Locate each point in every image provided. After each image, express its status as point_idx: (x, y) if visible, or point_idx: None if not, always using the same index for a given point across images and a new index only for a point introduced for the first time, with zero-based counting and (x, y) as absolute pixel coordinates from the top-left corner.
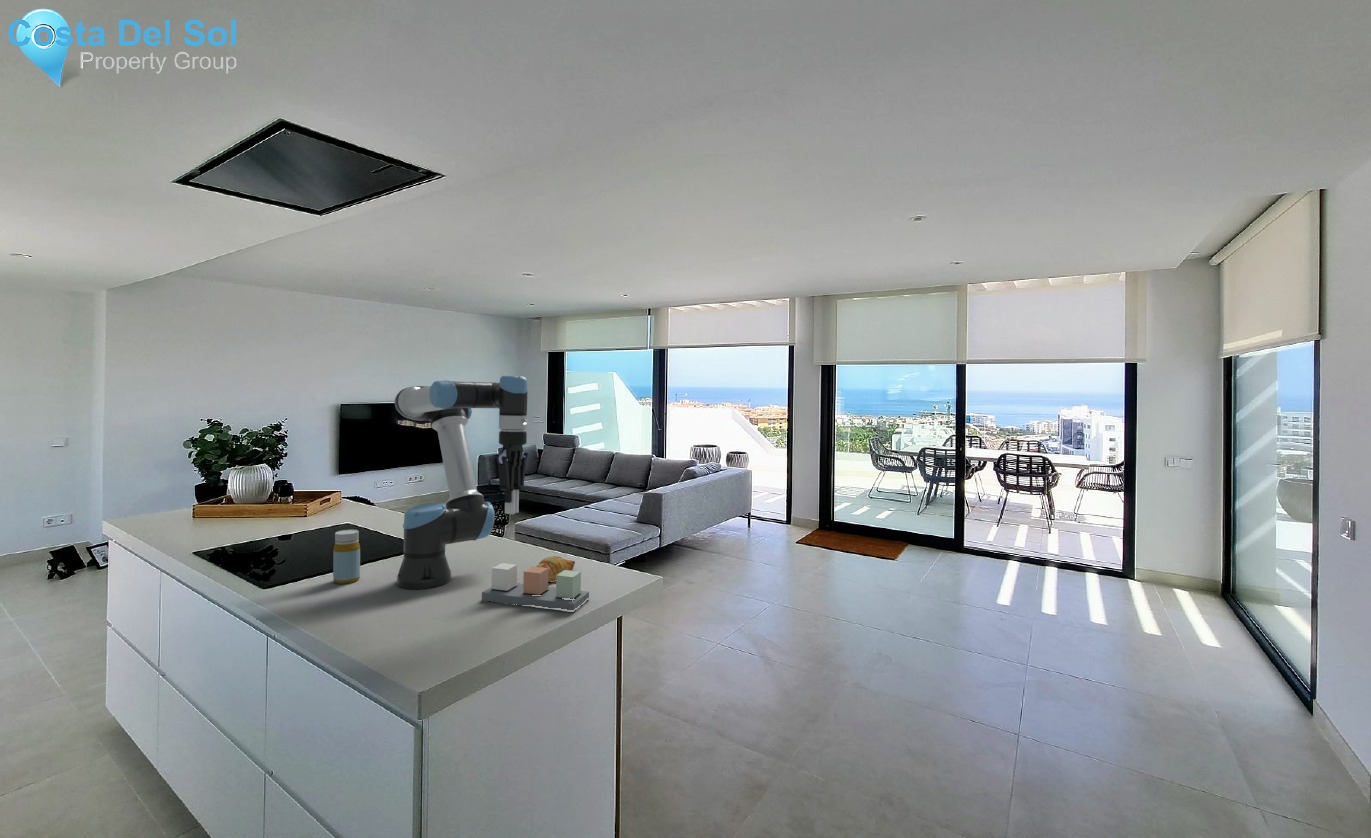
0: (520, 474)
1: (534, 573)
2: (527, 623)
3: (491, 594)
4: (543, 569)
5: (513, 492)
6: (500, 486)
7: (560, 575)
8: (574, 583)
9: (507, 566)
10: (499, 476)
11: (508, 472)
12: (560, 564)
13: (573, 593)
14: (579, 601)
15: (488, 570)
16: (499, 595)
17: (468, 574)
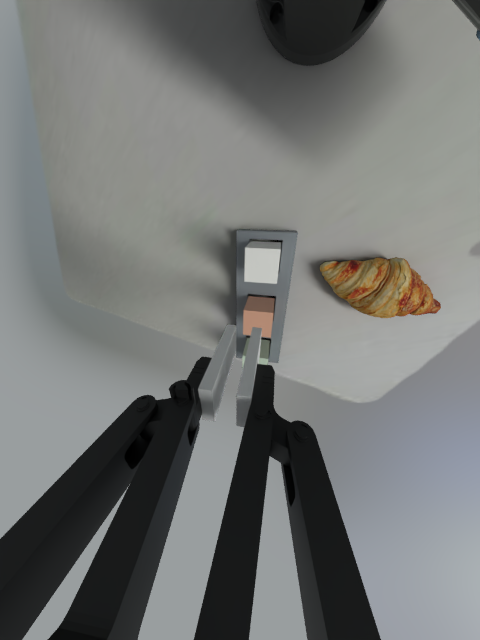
0: (296, 538)
1: (243, 326)
2: (197, 319)
3: (236, 249)
4: (262, 333)
5: (204, 414)
6: (126, 413)
7: (243, 360)
8: None
9: (262, 271)
10: (59, 481)
11: (79, 551)
12: (370, 314)
13: None
14: None
15: (439, 108)
16: (236, 263)
17: (401, 68)
